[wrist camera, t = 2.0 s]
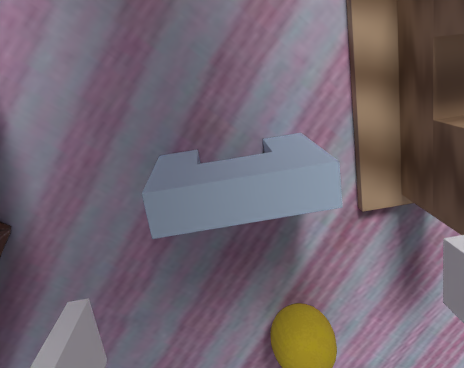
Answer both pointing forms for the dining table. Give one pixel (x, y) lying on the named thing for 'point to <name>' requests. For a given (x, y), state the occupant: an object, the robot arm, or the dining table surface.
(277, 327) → the lemon
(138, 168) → the dining table surface
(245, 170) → the gray u-shaped block
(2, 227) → the letter holder
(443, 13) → the walnut notched stand
